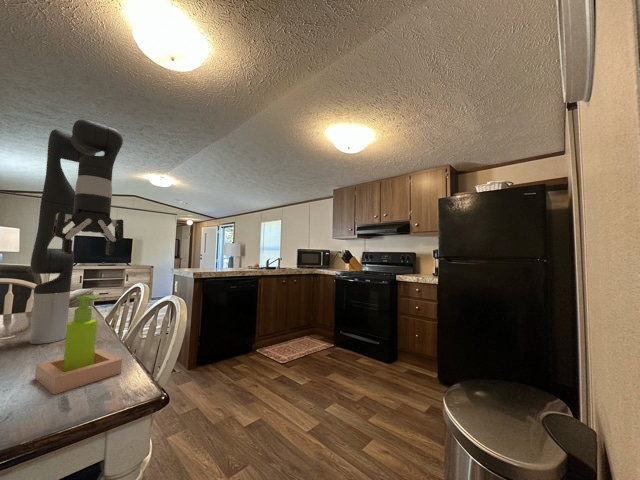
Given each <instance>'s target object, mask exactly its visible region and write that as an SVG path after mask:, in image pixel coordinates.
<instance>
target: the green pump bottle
mask: <svg viewBox="0 0 640 480" xmlns="http://www.w3.org/2000/svg"><path fill="white" fill-rule="evenodd" d="M75 298H76V299H77V300H79V306H78V307H77V308H75V309H74V314H73V321H70V322H68V323H67V329H66V338H65V342H64V345H65V346H64V355H63V357H64V365H63V372H68V371H72V370H75V369H79V368H82V367H86V366H90V365H93V364H94V353H95V350H96V340H97V339H96V338H97V337H96V336H97V326H98V320H97V319H95V318H94V319H93V318H92V314H93V313H92V312H93V311H92V310H93V309H92V307H90V306H89V300H90V301H94V300H95V301H96V300H99V299H100V297H99V296H96V295H87V294H86V295H79V296H78V295H77V296H76V297H75Z"/></svg>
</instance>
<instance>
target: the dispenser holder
mask: <svg viewBox="0 0 640 480" xmlns="http://www.w3.org/2000/svg"><path fill="white" fill-rule="evenodd" d="M122 364H123V359H122V358H120V357H118V356H116V355H115V354H112V353H110V352H107V351H105V350H103V349H101V348H98V349H95V353H94V364H93V365H90V366H86V367H82V368H79V369H75V370H72V371H68V372H63V365H64V356H63V357H60V358H55V359H51V360H48V361H44V362H43V361H42V362H39V363H36V364H35V373H34V374H35V376H34V379H35V380H36V381H37V382H38V383H40V384H41V385H42V386H43V387H44V388H45V389H46V390H47V391H49V392H50V393H51V394H53V395H56V394H60V393H62V392H66V391H70V390H72V389H74V388H75V389H76V388H79V387H81V386H84V385H88V384H91V383H94V382H98V381H100V380H103V379H107V378H110V377H113V376H117V375H119V374H121V373H122Z"/></svg>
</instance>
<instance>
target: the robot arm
mask: <svg viewBox="0 0 640 480" xmlns="http://www.w3.org/2000/svg"><path fill="white" fill-rule="evenodd" d="M71 132H72V133H71ZM71 132H69V131H65V130H61V129H57V128H56V129H53V130H52V131H50V134H49V136H48V142H47V157H46V167H45V168H46V169H45V171H46V172H45V177H44V178H45V179H44V184H43V189H42V195H41V200H40V205H39V216H38V226H37V231H36V237H35V241H34V245H33V249H32V250H33V251H32V254H31V258H30V270H31V272H32V273H33V274H35V275H36V274H37V275H47V274H48V275H49V274H50V275H51V274H58V276H57V277H55V278H54V279H51V280H48V281H45V282H42V283H38V284H36V285H35V286H34V288H33V289H34V291H33V300H32V301H33V303H32V314H31V325H30V333H29V344H32V345H39V344H40V345H42V344H50V343H53V342H54V343H55V342H58V341H63V340H64V339H65V340H66V329H67V323H69V322H68V321H69V312H70V311H69V310H70V300H71V299H70V297H71V287H72V279H73V277H72V276H73V270H74V266H75V265H74V264H75V253H74V250H73V240H72V238H73V237H75V236H76V235H77V234H78V233H80V232H83V233H89V232H90V233H95V234H98V233H100V234H101V236H102V237H104V238H105V240H106V241H105V242H106V244H105V255H106V256H112V255H113V254H114V252H115V247H116V246H115V245H116V242H117V241H122V240H123V239H124V219H112V218H111V211H112V198H113V185H112V181H113V170H114V164H115V161H116V159H117V156H118V154H119V152H120V150H121V149H122V146H123V142H124V139H123V136H122V134H121V133H120V132H119V130H117V129H115V128H113V127H109V126H107V125H104V124H101V123H98V122H95V121H92V120H88V119H78V120H76V121H75V122H74V123H73V126H72V131H71ZM100 152H104V154H103V155H96V154H98V153H100ZM62 159H63V160H65V161H66V160H67V161H70V162H74V163H75V162H76V163H78V171H77V179H76V181H75V189H74V188H73V186H72V185H71V184H70V182H69V180H68V179H67V177H66V175H65V173H64V170H63V168H62V162H61V161H62ZM71 223H73V224H74V225H73V226H72V227H70V228H69V229H68V231H66V232H65V233H64V228H66V227H68V225H69V224H71ZM111 224H112V227H113V228H114V234H113V233H112V231H111V230H110V228H109V226H110V225H111ZM55 237H57V238H59V239H61V241H62V245H61V248H49V246H50V244H51V242H52V240H54V238H55Z"/></svg>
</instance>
